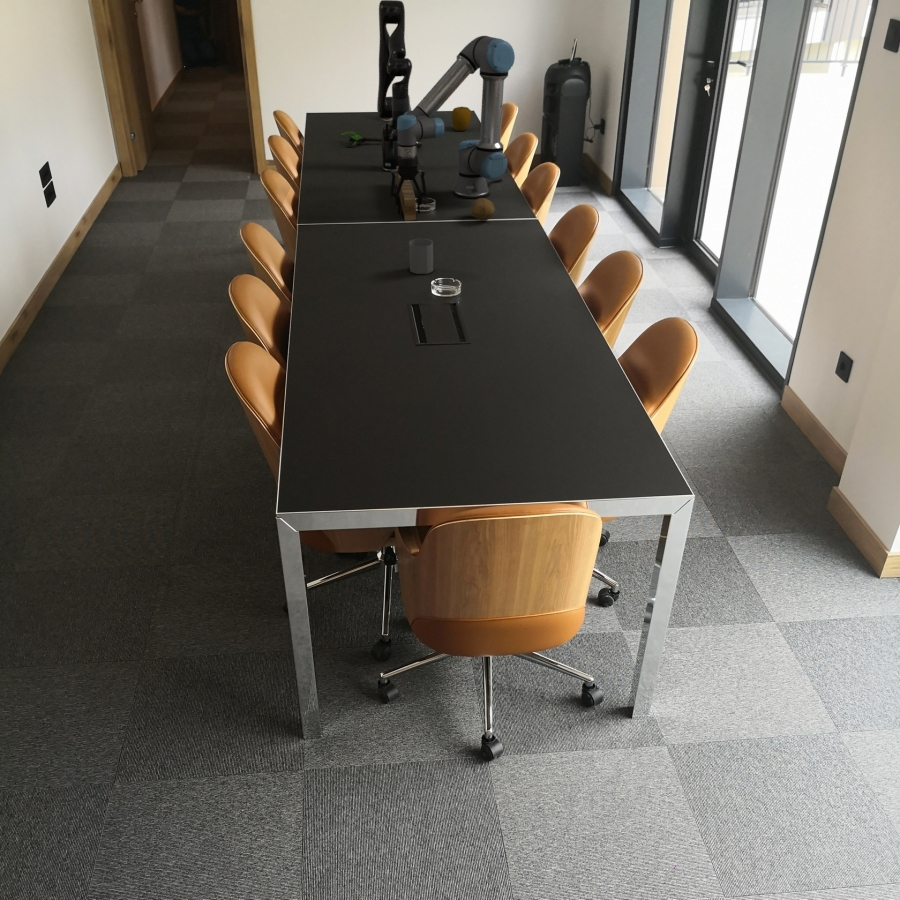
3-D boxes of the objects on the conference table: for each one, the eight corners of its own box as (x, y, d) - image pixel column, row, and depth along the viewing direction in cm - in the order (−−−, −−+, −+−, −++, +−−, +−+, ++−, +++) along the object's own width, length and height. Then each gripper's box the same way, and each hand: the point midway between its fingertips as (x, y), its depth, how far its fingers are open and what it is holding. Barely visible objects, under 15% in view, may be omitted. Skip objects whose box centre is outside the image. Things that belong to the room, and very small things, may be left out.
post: (396, 185, 398) (396, 166, 393) (407, 185, 399) (406, 165, 394) (404, 220, 355) (404, 199, 350) (416, 220, 355) (415, 199, 351)
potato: (492, 213, 362) (492, 194, 358) (496, 224, 351) (496, 204, 346) (468, 214, 362) (469, 194, 358) (472, 224, 350) (472, 205, 346)
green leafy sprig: (396, 128, 464) (339, 126, 462) (395, 143, 457) (338, 141, 454) (395, 137, 469) (340, 135, 466) (395, 153, 462) (339, 151, 459)
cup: (409, 265, 311) (408, 238, 306) (432, 265, 312) (431, 238, 307) (410, 274, 304) (409, 246, 299) (433, 273, 305) (433, 246, 299)
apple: (471, 132, 486) (471, 108, 479) (451, 132, 486) (451, 108, 479) (470, 128, 495) (471, 104, 488) (452, 128, 495) (452, 104, 488)
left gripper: (384, 110, 370) (386, 149, 378) (417, 110, 371) (418, 149, 380) (383, 107, 376) (385, 145, 385) (416, 106, 377) (417, 144, 386)
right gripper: (382, 159, 344) (384, 216, 357) (433, 158, 346) (434, 214, 359) (381, 154, 351) (383, 210, 363) (431, 153, 353) (432, 209, 365)
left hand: (401, 147), depth 382 cm, fingers open, 8 cm apart
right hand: (408, 212), depth 361 cm, fingers open, 8 cm apart
